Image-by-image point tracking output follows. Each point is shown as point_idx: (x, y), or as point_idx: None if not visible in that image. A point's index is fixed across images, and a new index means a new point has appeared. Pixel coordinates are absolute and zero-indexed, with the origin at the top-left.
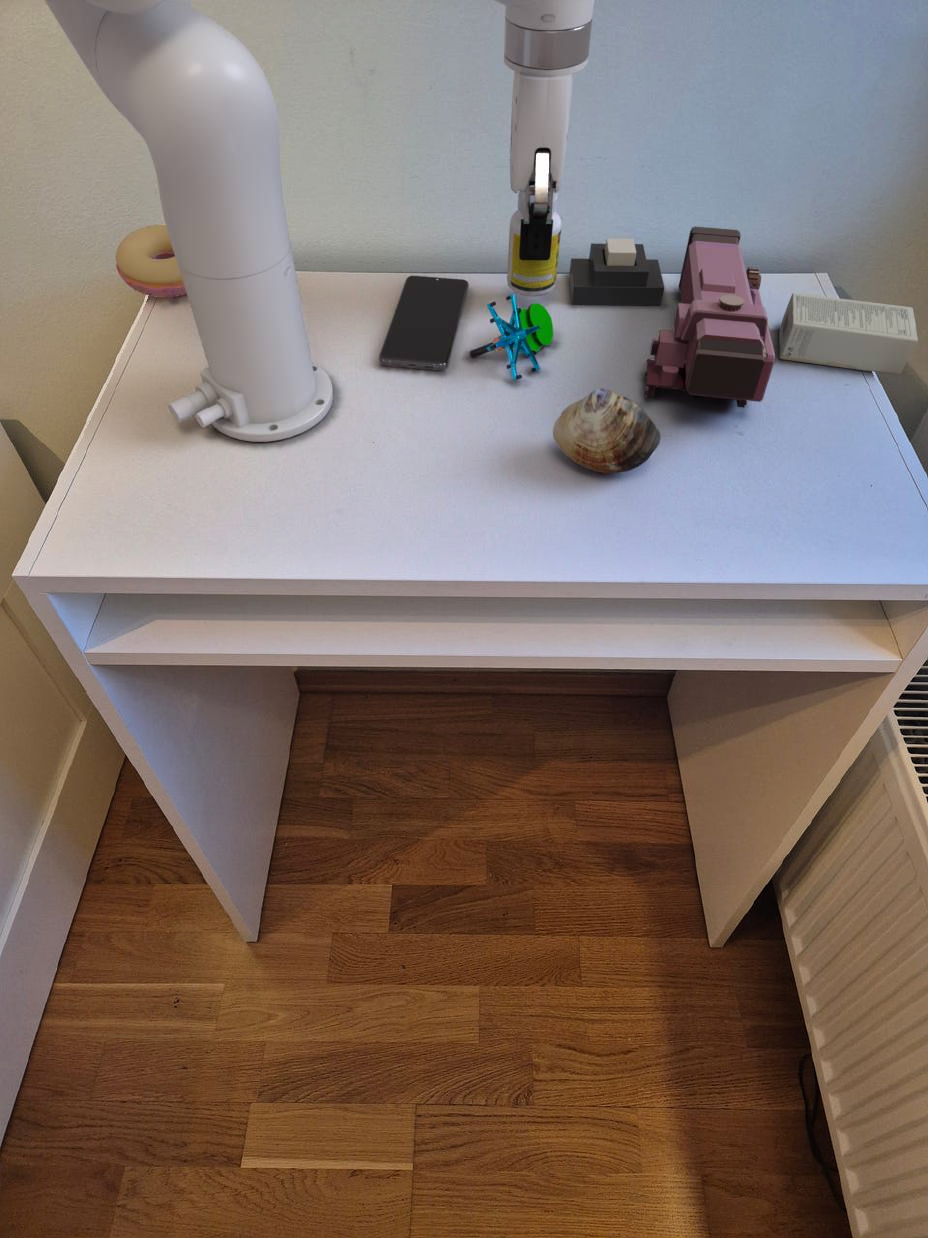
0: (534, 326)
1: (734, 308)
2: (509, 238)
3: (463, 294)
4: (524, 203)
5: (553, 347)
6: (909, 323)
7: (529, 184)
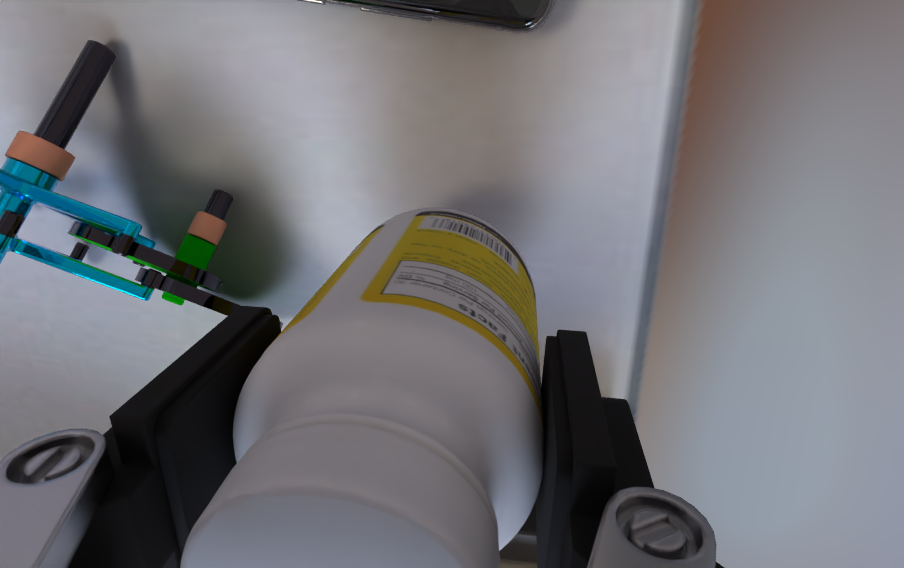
0: (110, 286)
1: None
2: (383, 276)
3: (426, 6)
4: (11, 530)
5: (215, 313)
6: None
7: (584, 565)
